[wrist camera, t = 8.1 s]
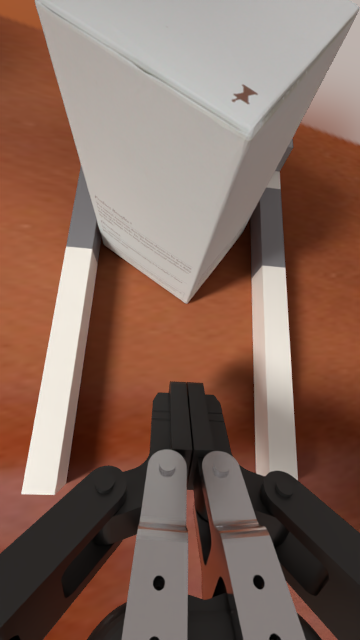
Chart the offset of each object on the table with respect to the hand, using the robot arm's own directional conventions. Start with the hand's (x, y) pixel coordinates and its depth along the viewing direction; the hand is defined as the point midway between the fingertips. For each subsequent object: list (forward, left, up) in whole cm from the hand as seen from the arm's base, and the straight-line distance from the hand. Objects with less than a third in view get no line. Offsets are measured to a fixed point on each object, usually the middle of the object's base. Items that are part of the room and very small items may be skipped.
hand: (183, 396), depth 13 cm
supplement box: (-1, +11, -4) cm, 12 cm away
